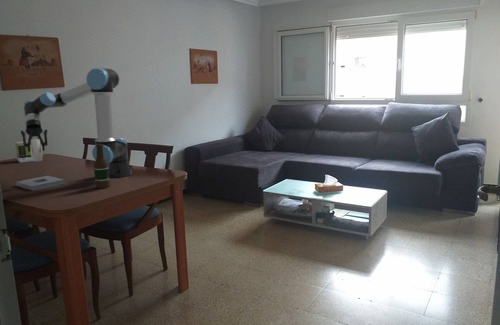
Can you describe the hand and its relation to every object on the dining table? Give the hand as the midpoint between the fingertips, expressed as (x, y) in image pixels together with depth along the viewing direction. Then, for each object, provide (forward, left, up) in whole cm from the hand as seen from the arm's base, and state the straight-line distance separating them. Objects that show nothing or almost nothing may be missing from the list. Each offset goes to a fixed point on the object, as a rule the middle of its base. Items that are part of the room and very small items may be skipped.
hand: (37, 155), depth 212 cm
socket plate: (+3, -2, -18) cm, 18 cm away
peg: (+3, -2, -4) cm, 5 cm away
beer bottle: (-31, -19, -18) cm, 40 cm away
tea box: (+85, -35, -18) cm, 94 cm away
